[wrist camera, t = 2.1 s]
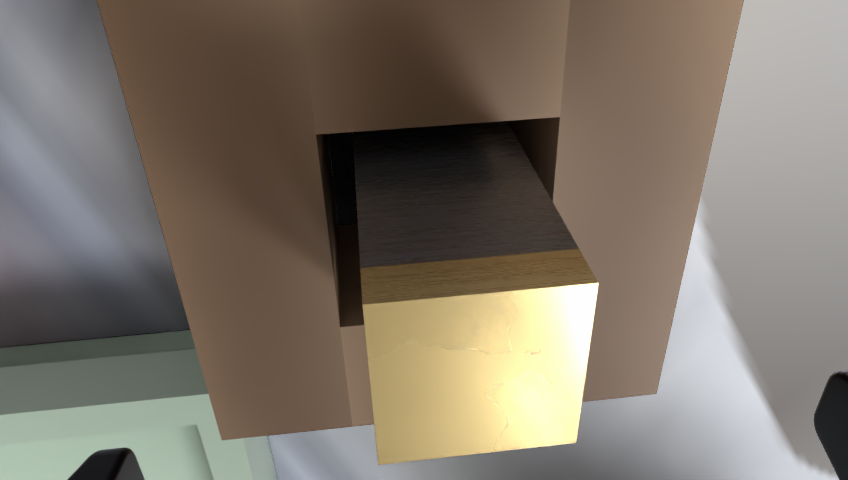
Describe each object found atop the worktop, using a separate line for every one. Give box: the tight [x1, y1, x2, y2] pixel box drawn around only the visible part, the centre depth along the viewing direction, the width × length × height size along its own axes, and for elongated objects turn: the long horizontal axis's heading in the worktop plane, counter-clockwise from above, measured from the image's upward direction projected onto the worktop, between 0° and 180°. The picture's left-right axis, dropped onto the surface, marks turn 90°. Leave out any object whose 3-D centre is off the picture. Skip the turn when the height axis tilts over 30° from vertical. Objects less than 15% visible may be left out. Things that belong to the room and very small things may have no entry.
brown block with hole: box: [97, 0, 744, 440], centre depth 14 cm, size 10×10×4 cm
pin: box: [353, 121, 598, 465], centre depth 13 cm, size 3×3×8 cm
